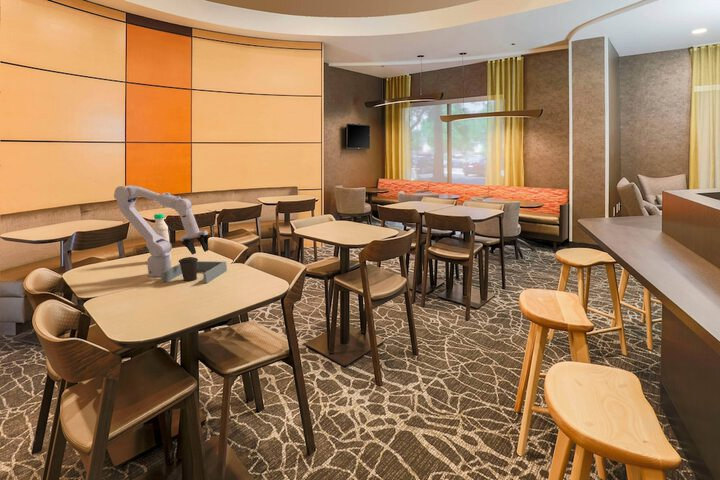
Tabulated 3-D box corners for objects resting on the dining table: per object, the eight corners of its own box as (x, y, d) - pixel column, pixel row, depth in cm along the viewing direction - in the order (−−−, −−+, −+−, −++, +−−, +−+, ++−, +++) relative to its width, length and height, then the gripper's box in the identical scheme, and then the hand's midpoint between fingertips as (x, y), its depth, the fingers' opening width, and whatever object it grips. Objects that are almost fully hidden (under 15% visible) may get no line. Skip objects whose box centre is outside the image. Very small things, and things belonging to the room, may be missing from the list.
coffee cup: (204, 278, 182) (202, 256, 180) (189, 283, 175) (187, 261, 173) (190, 276, 185) (188, 255, 183) (176, 281, 178) (173, 259, 176)
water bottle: (160, 259, 218) (154, 213, 213) (173, 258, 219) (168, 212, 213) (154, 262, 211) (149, 215, 206) (168, 262, 212) (163, 214, 207)
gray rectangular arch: (162, 282, 176) (161, 272, 176) (186, 269, 196) (185, 261, 195) (206, 283, 174) (205, 273, 173) (226, 270, 194) (226, 261, 193)
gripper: (207, 219, 185) (218, 247, 187) (184, 225, 190) (194, 252, 193) (197, 222, 178) (207, 251, 181) (173, 229, 184) (183, 257, 187)
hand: (200, 252), depth 187 cm, fingers open, 7 cm apart
